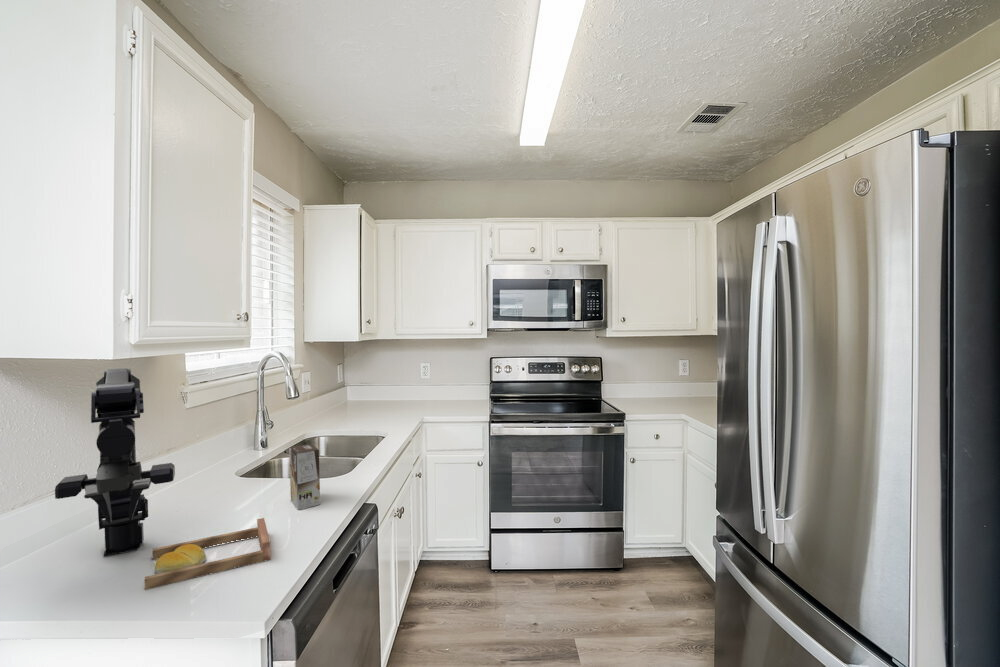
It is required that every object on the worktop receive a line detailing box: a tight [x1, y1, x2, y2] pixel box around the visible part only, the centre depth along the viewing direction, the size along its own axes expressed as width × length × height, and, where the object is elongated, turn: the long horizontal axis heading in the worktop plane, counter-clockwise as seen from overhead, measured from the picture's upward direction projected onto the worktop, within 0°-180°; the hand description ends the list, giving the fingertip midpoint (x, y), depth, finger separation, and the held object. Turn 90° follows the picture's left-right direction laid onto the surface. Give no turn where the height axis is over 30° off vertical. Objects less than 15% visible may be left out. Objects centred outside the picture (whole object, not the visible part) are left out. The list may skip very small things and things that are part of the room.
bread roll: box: [154, 544, 207, 574], centre depth 104 cm, size 8×9×4 cm
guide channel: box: [144, 517, 271, 590], centre depth 107 cm, size 22×15×4 cm
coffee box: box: [288, 443, 321, 511], centre depth 140 cm, size 9×6×16 cm
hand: (120, 521), depth 99 cm, fingers open, 3 cm apart
